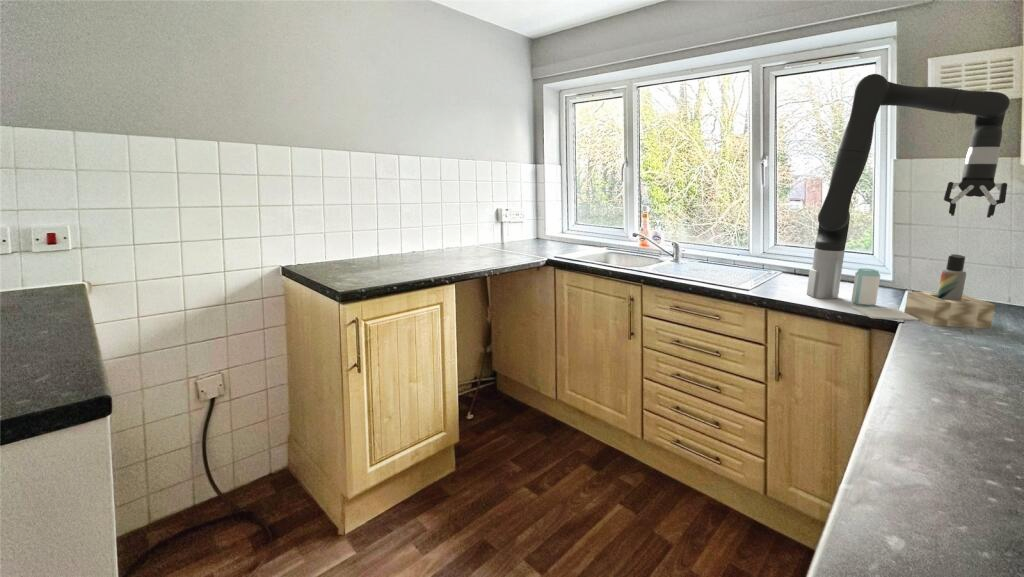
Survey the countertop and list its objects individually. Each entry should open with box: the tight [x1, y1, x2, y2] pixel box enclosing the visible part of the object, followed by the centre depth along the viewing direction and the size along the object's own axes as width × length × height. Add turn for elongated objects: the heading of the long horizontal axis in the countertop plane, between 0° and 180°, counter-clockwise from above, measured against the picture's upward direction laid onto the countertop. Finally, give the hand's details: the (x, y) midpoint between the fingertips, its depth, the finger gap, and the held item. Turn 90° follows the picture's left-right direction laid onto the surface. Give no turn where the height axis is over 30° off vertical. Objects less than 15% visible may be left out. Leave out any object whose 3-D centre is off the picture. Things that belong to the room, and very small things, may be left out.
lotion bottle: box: [937, 253, 967, 301], centre depth 158 cm, size 6×6×20 cm
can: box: [850, 267, 881, 307], centre depth 179 cm, size 7×7×12 cm
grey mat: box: [852, 306, 919, 321], centre depth 166 cm, size 13×13×1 cm
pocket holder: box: [903, 291, 996, 329], centre depth 159 cm, size 15×15×7 cm
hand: (970, 216), depth 163 cm, fingers open, 8 cm apart
